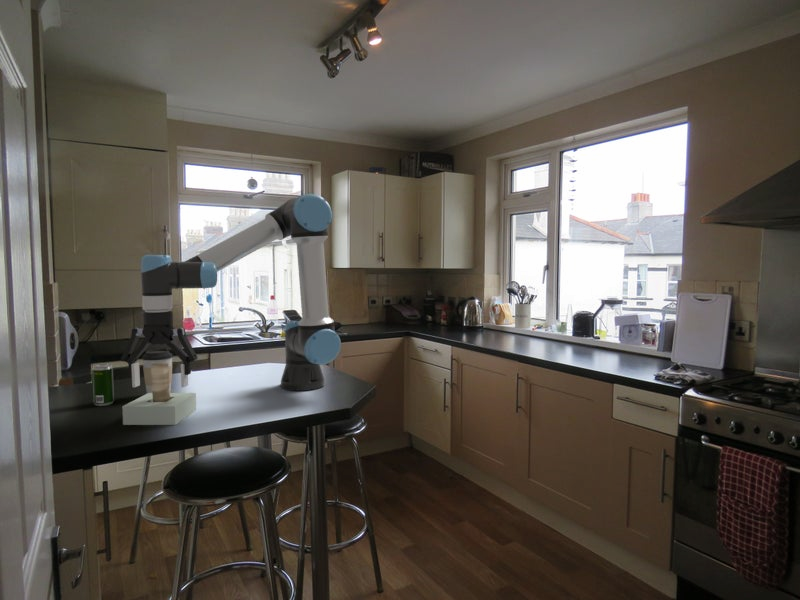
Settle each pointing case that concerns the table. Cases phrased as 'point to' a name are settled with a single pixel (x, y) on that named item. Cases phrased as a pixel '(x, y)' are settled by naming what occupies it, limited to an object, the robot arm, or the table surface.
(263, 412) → the table surface
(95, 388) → the beer can
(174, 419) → the bore block
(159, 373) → the beech pin
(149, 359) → the coffee cup
